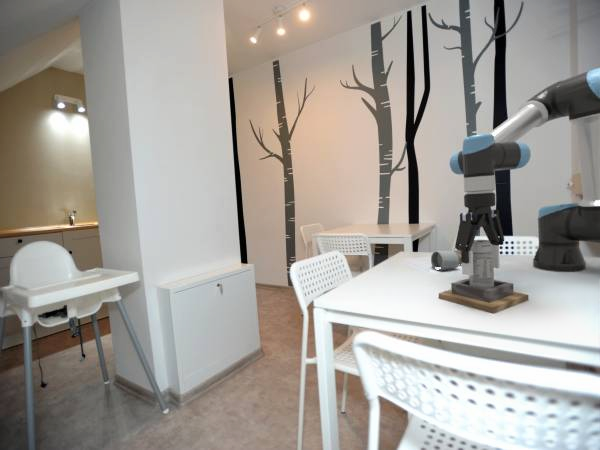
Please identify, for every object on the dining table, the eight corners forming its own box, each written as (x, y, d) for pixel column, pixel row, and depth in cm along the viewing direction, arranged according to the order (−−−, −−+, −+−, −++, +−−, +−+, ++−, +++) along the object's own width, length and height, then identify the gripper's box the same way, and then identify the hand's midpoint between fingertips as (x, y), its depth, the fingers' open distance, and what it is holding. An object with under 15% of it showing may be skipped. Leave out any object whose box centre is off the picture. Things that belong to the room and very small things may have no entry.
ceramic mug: (461, 270, 125) (460, 250, 125) (443, 272, 123) (442, 252, 123) (443, 265, 136) (442, 247, 135) (426, 267, 134) (425, 249, 133)
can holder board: (473, 287, 102) (472, 273, 102) (528, 300, 88) (528, 283, 88) (438, 298, 95) (438, 283, 94) (493, 313, 81) (492, 295, 80)
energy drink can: (494, 291, 92) (493, 239, 91) (494, 297, 87) (492, 242, 86) (471, 289, 95) (469, 239, 94) (469, 295, 90) (466, 242, 89)
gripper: (491, 191, 98) (493, 262, 100) (438, 195, 87) (441, 275, 88) (518, 189, 91) (519, 266, 93) (464, 194, 80) (466, 280, 82)
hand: (481, 270), depth 91 cm, fingers open, 11 cm apart
